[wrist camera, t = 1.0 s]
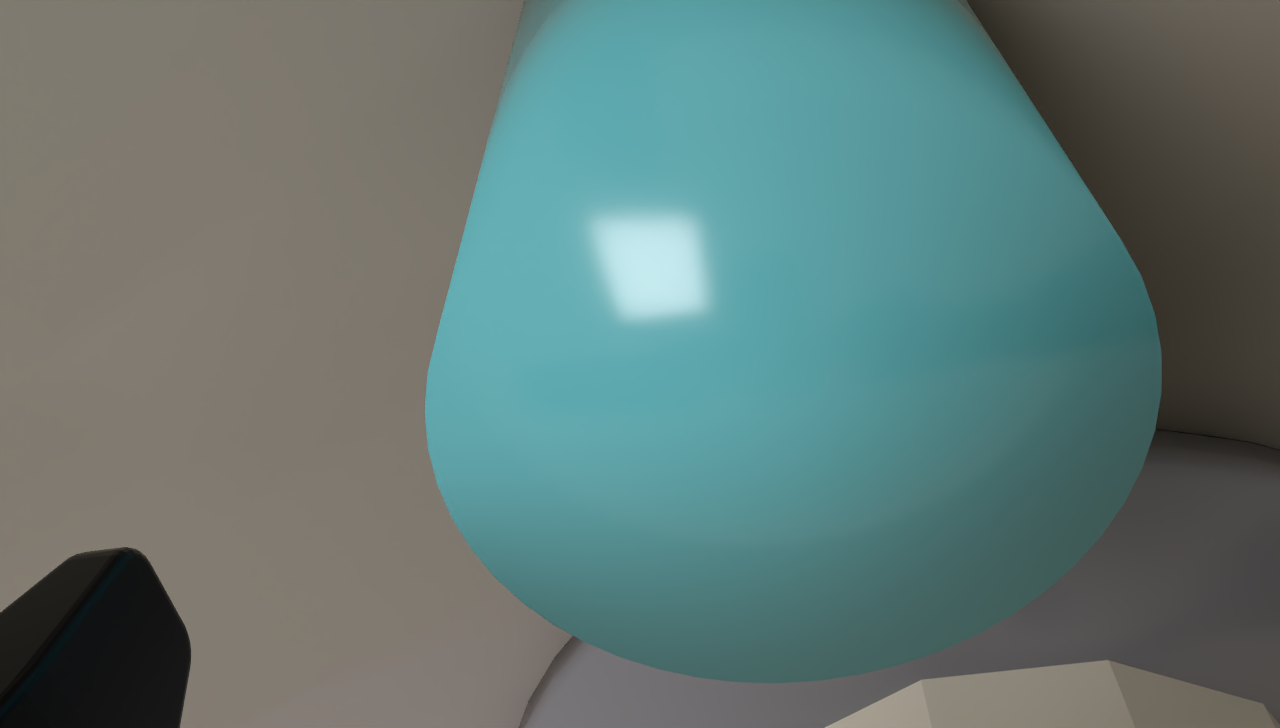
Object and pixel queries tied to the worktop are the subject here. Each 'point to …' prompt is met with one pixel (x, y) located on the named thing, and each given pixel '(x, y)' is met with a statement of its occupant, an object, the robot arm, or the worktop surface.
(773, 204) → the teal rounded cylinder
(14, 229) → the worktop surface
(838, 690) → the round tray
